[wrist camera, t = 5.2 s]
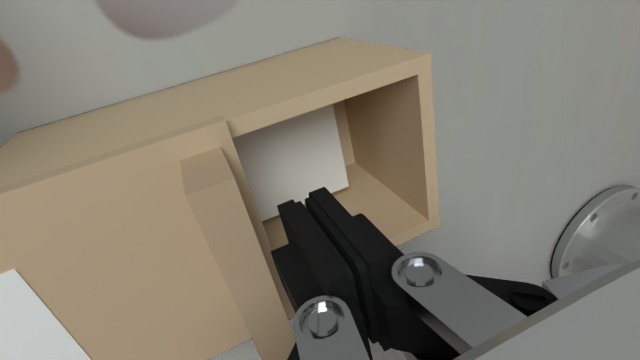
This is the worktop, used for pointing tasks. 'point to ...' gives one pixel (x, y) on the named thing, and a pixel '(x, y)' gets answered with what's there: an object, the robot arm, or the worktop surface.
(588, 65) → the worktop surface
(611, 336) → the robot arm
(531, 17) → the worktop surface
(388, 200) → the box
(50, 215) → the lid
